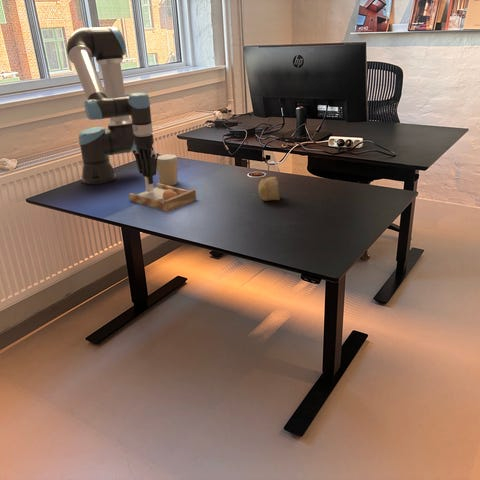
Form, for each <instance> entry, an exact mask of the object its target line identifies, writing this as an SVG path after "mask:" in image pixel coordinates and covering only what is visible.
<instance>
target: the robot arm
mask: <svg viewBox="0 0 480 480" xmlns="http://www.w3.org/2000/svg"><path fill="white" fill-rule="evenodd" d="M126 49H127V48H126V41H125V38H124V36H123V34H122V32H121V30H120V29H119V28H117V27H116V26H100V27H99V26H98V27H81V28H79V29H77V30H75V31H74V32H73V33H72V34H71V35H70V37H69V38H68V41H67V44H66V53H67V58H68V59H69V61H70V63H71V64H73V66H74V68H75V71H76V74H77V76H78V78H79V79H78V80H79V81H80V82H79V83H80V85H81V87H82V90H83V93H84V95H85V97H86V100H85V101H84V111H85V114H86V117H87V118H88V120H90V121H91V120H103V119H104V120H105V119H109V123H108V124H107V127H108V129H105V127H103V126H94V127H93V126H92V127H89V128H85V129H83V130H81V132H79V134H78V141H79V142H78V144H79V146H80V148H79V149H80V152H81V158H82V174H81V181H82V182H83V184H85V185H86V184H88V185H100V184H107V183H109V182H112V181H115V179H116V177H117V176H116V172H115V169H114V168H113V166H112V164H111V162H110V157H109V156H115V155H120V154H129V153H132V154H133V155H134V158H135V159H134V160H135V162H136V165H137V169H138V173H139V174H141V175H142V176H143V182H144V185H145V191H146V192H151V191H153V188H154V178H153V177H154V176H156V175H157V171H158V168H157V158H158V156H160V155H159V152H155V151H154V150H155V149H154V147H153V146H154V143H155V142H154V134H153V132H154V131H153V123H152V122H153V121H152V113H151V101H150V97H149V94H148V93H146V92H134V93H133V92H132V93H130V94H126V90H125V84H124V77H123V72H122V71H123V70H122V65H121V63H122V62H123V60H124V57H123V56H126V53H127V50H126ZM92 58H95V61H96V63H97V64H98V65H100V69H101V76H102V81H103V84H102V81H101V79H100V76H99V74H98V72H97V69H96V66H95V64H94V61H93V59H92ZM130 116H131V117H130ZM130 118H131V119H130Z"/></svg>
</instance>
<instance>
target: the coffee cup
mask: <svg viewBox="0 0 480 480" xmlns="http://www.w3.org/2000/svg"><path fill="white" fill-rule="evenodd" d="M157 174H158V179H159V183H160V184H164V185H168V186H175V185H176V184H178V157H177V155H176V154H172V153H171V154H170V153H166V154H161V155H159V156H158V158H157Z"/></svg>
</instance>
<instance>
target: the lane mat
mask: <svg viewBox="0 0 480 480" xmlns="http://www.w3.org/2000/svg"><path fill="white" fill-rule="evenodd" d="M165 190H166V189H162V188H159V187H157V186H156V187H153V191H151V192H146V190H145V191H142V192H140V193H137V194H136V195H140V196H143V197H147V198H151V199H154V200H158V201H161V202H164V201H165V200H164V199H163V193H164V191H165ZM174 193H175V196H177V192H174Z"/></svg>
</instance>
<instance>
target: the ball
mask: <svg viewBox="0 0 480 480" xmlns="http://www.w3.org/2000/svg"><path fill="white" fill-rule="evenodd" d="M172 197H175V193H174V191H172V190H170V189H168V190H165V191H164V193H163V199H164V200H167V199H170V198H172Z"/></svg>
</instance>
